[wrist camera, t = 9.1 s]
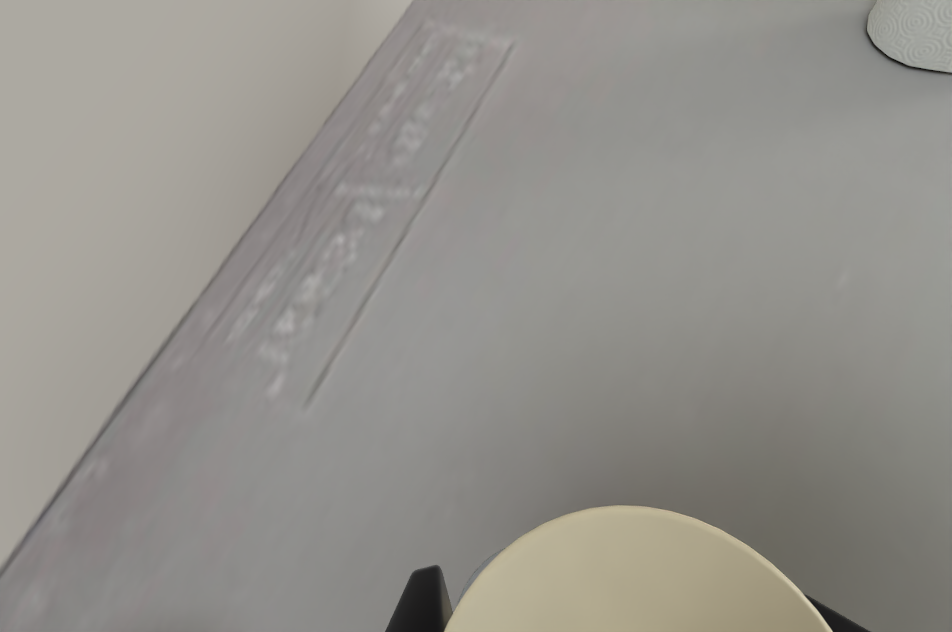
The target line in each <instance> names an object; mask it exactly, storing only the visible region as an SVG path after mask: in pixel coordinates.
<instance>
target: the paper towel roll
mask: <svg viewBox="0 0 952 632" xmlns="http://www.w3.org/2000/svg"><path fill="white" fill-rule="evenodd" d="M867 32H868V34H869V35H870V37H871V39H872V41H873V43H874V45H876V46H877V47H878V48H879V49H880V50H882V51H883V52H884V53H885V54H886V55H888V56H889V57H891V58H893V59H895V60H897V61H900V62H902V63H904V64H906V65H908V66H913V67H919V68H924V69H930V70H937V71H944V72H951V73H952V0H878V1H877V2H876V4H875V6H874V7H873V9H872V10H871V12H870V13H869V16H868V24H867Z"/></svg>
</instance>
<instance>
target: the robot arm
mask: <svg viewBox="0 0 952 632" xmlns="http://www.w3.org/2000/svg"><path fill="white" fill-rule="evenodd" d="M803 594H804V593H803ZM804 596H805V597H806V598H807V599H808V600H809V601H810V602H811V604H812V605H813V606H814V607H815V608H816V609H817V610H818V612H819V613H820V614H821V616H822V617H823V619H824V620H825V621H826V623H827V624H828V626H829V627H830V628H831V630H832V631H833V632H870V631H868V630H866V629H865V628H863V627H861V626H859V625H858V624H856V623H854V622H853V621H851V620H849V619H847V618H846V617H844V616H842V615H840V614H839V613H837V612H835V611H833V610H832V609H830V608H828V607H826V606H825V605H823V604H821V603H819V602H818V601H816V600H814V599H812V598H811V597H809V596H807V595H805V594H804ZM452 614H453V612H452V608H451V604H450V600H449V596H448V592H447V589H446V585H445V581H444V577H443V573H442V570H441V568H440V567H439V566H438V565H433V566H429V567H425V568H422V569H418V570H415V571H414V572H413V573H412V574H411V576H410V579H409V581H408V583H407V585H406V587H405V590H404V592H403V594H402V596H401V598H400V601H399V603H398V605H397V607H396V609H395V611H394V614H393V616H392V618H391V620H390V622H389V625H388V627H387V629H386V631H385V632H444V631H445V628H446V626H447V624H448V621H449V620H450V618H451V616H452Z"/></svg>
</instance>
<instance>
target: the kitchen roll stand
mask: <svg viewBox="0 0 952 632" xmlns="http://www.w3.org/2000/svg"><path fill="white" fill-rule="evenodd" d="M444 632H833V631H832V630H831V628H830V627H829V626H828V624H827V623H826V621H825V620H824V619H823V617H822V616H821V614H820V613H819V612H818V610H817V609H816V608H815V607H814V606H813V605H812V604H811V602H810V601H809V600H808V599H807V598H806V597H805V596H804V594H803V593H802V592H801V591H800V590H799V589H798V588H797V587H796V585H795V584H794V583H792V582H791V581H790V580H789V579H788V578H787V577H786V576H785V575H784V574H783V573H782V572H781V571H779V570H778V569H777V568H776V567H775V566H774V565H773V564H772V563H771V562H769V561H768V560H767V559H765V558H764V557H763V556H761V555H760V554H759V553H757V552H756V551H755V550H753V549H752V548H751V547H749V546H748V545H746V544H745V543H743V542H741V541H740V540H738V539H736V538H734V537H733V536H731V535H729V534H728V533H726V532H724V531H723V530H721V529H718V528H716V527H714V526H712V525H709V524H707V523H705V522H702V521H700V520H698V519H696V518H692V517H689V516H686V515H682V514H679V513H676V512H672V511H669V510H663V509H657V508H651V507H645V506H625V505H614V506H605V507H595V508H589V509H585V510H581V511H577V512H573V513H569V514H566V515H563V516H561V517H558V518H556V519H553V520H551V521H548V522H546V523H543V524H542V525H540V526H538V527H536V528H535V529H533V530H531V531H529V532H528V533H526V534H524V535H523V536H521V537H520V538H518V539H517V540H516V541H514V542H513V543H512V544H511V545H509V546H508V547H507V548H504V549H502V550H500V551H499V552H497V553H495V554H494V555H492V556H491V557H490V558H488V559H487V560H486V561H485V562H484V563H483V564H482V565H481V566H480V567H479V568H478V569H477V570H476V571H475V572H474V574H473V575H472V576H471V578H470V579H469V581H468V582H467V584H466V586H465V588H464V589H463V592H462V594H461V596H460V599H459V601H458V605H457V607H456V609H455V611H454V613H453V614H452V616H451V618H450V620H449V621H448V624H447V626H446V628H445V631H444Z"/></svg>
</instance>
